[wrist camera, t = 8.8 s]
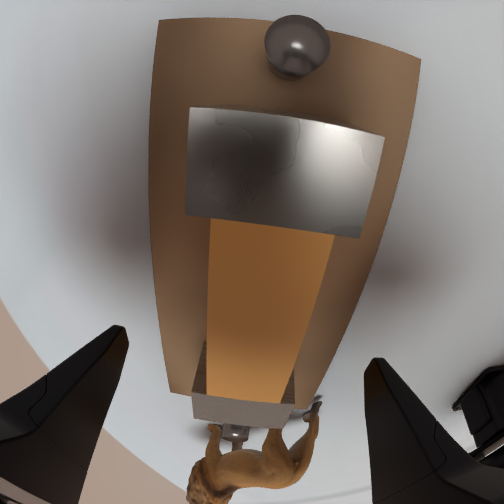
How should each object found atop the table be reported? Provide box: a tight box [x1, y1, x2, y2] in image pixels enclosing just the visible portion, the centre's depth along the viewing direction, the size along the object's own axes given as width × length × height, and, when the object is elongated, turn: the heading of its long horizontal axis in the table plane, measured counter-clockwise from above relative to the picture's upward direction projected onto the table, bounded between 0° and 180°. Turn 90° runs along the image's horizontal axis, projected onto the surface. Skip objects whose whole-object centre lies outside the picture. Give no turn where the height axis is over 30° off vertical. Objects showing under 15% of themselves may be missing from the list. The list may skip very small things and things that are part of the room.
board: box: [149, 15, 421, 442], centre depth 12 cm, size 10×22×4 cm, turn 174°
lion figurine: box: [186, 401, 322, 504], centre depth 19 cm, size 15×5×9 cm, turn 138°
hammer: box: [185, 104, 385, 429], centre depth 12 cm, size 5×15×4 cm, turn 174°
